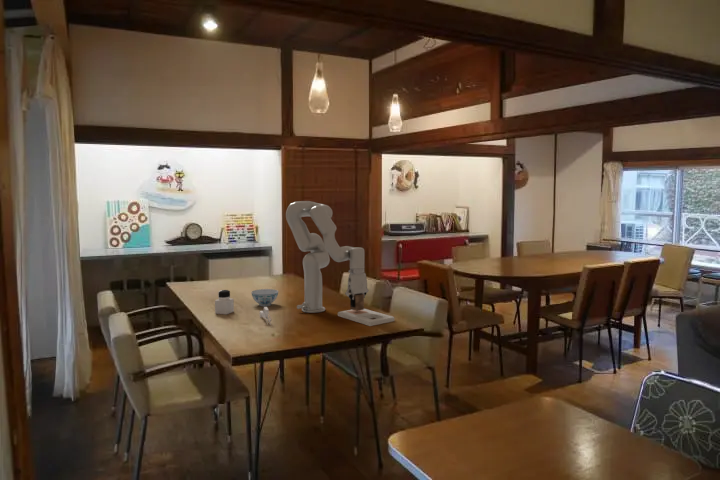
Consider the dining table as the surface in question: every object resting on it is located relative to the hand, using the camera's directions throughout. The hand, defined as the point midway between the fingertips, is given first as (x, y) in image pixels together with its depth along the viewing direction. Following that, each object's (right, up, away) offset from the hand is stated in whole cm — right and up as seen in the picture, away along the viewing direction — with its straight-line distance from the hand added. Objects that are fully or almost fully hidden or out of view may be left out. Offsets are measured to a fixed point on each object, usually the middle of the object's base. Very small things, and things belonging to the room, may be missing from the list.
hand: (357, 305), depth 278 cm
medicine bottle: (-71, -5, +6) cm, 71 cm away
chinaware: (-52, -3, +25) cm, 58 cm away
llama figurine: (-46, -7, -11) cm, 48 cm away
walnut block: (0, -2, 0) cm, 2 cm away
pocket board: (+4, -6, -5) cm, 9 cm away
